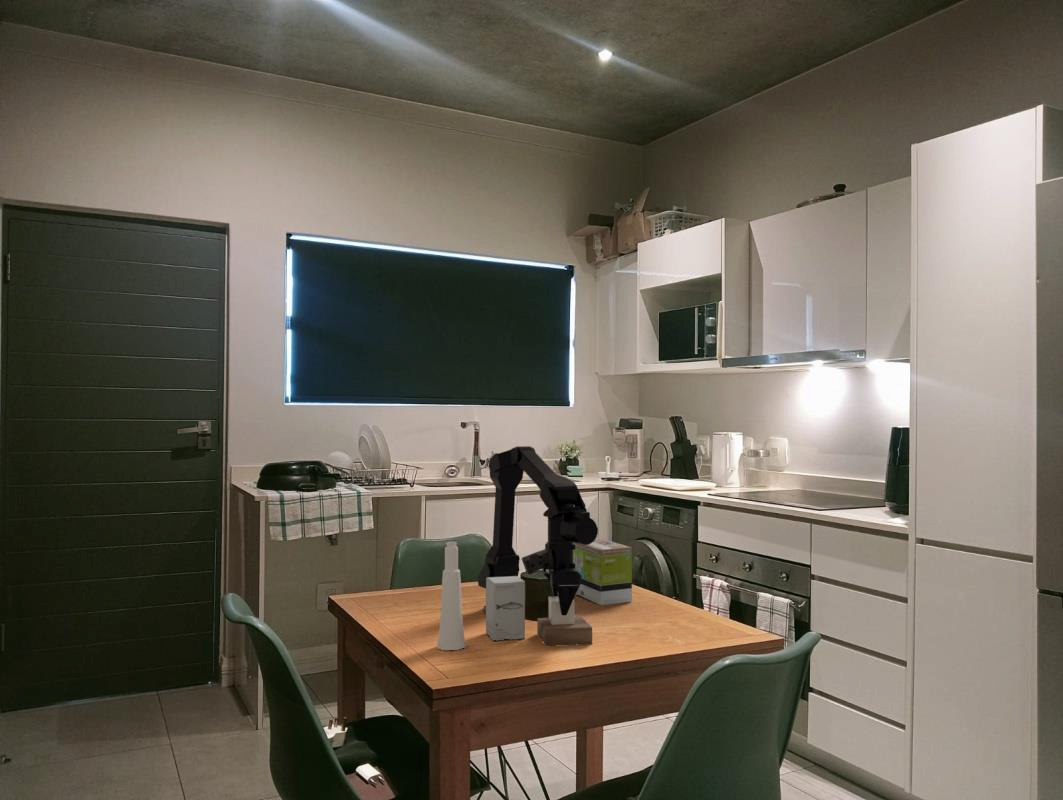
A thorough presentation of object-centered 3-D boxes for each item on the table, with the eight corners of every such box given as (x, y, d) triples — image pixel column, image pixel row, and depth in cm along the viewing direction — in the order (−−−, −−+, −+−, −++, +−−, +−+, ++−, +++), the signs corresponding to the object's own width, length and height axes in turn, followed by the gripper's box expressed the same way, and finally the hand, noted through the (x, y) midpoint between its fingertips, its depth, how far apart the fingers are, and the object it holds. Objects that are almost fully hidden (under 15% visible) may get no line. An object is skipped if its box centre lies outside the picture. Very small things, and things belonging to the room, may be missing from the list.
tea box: (572, 594, 224) (572, 540, 225) (604, 591, 228) (604, 538, 229) (600, 606, 211) (599, 548, 211) (633, 602, 215) (633, 545, 215)
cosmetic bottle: (471, 647, 172) (471, 542, 173) (448, 653, 168) (448, 545, 169) (453, 641, 177) (454, 539, 177) (431, 647, 172) (431, 542, 173)
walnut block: (537, 636, 183) (537, 618, 183) (581, 634, 185) (580, 616, 185) (546, 648, 173) (546, 629, 173) (592, 646, 175) (592, 627, 175)
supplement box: (492, 641, 177) (492, 583, 177) (485, 633, 184) (485, 576, 184) (525, 639, 179) (525, 581, 179) (517, 631, 186) (517, 574, 186)
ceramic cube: (548, 619, 182) (548, 596, 182) (570, 618, 182) (570, 595, 183) (551, 624, 177) (551, 601, 177) (574, 624, 178) (574, 600, 178)
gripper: (520, 533, 189) (520, 601, 188) (528, 546, 170) (528, 621, 170) (567, 532, 190) (568, 600, 190) (581, 545, 171) (582, 620, 171)
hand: (560, 610), depth 180 cm, fingers open, 9 cm apart
